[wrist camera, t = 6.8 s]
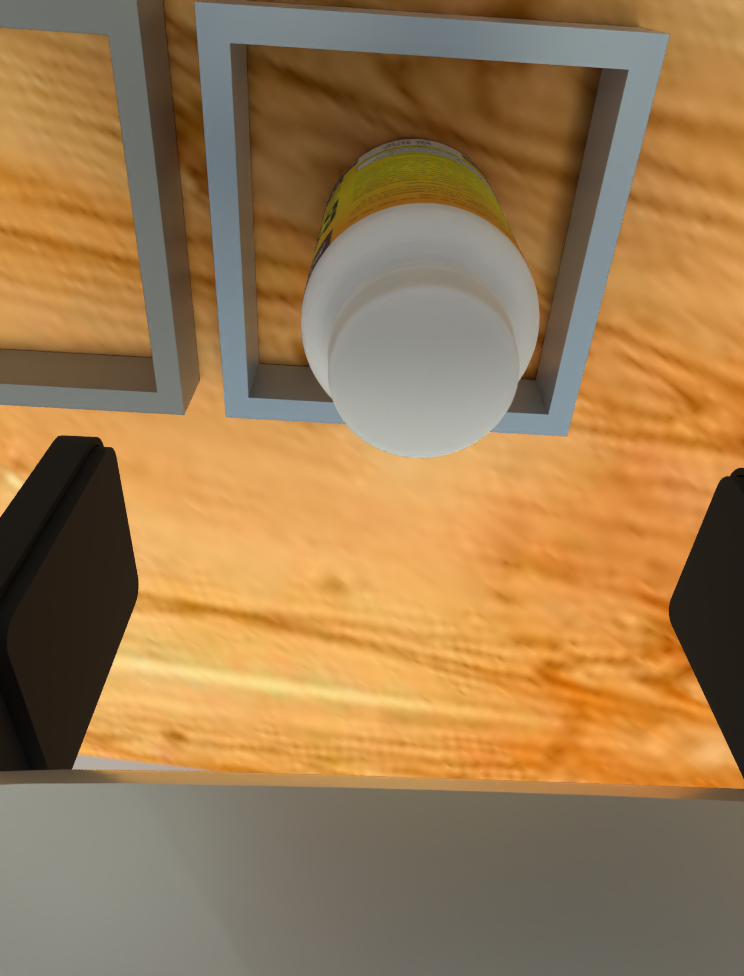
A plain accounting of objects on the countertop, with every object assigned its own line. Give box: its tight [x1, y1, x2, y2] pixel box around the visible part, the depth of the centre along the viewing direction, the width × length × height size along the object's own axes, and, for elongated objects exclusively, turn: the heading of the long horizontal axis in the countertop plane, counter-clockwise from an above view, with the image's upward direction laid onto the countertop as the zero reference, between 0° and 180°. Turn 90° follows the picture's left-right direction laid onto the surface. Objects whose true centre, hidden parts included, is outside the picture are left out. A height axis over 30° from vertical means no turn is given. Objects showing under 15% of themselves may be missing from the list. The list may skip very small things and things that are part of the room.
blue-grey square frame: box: [195, 0, 670, 436], centre depth 22 cm, size 12×12×2 cm
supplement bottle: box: [301, 139, 540, 458], centre depth 19 cm, size 6×6×10 cm
